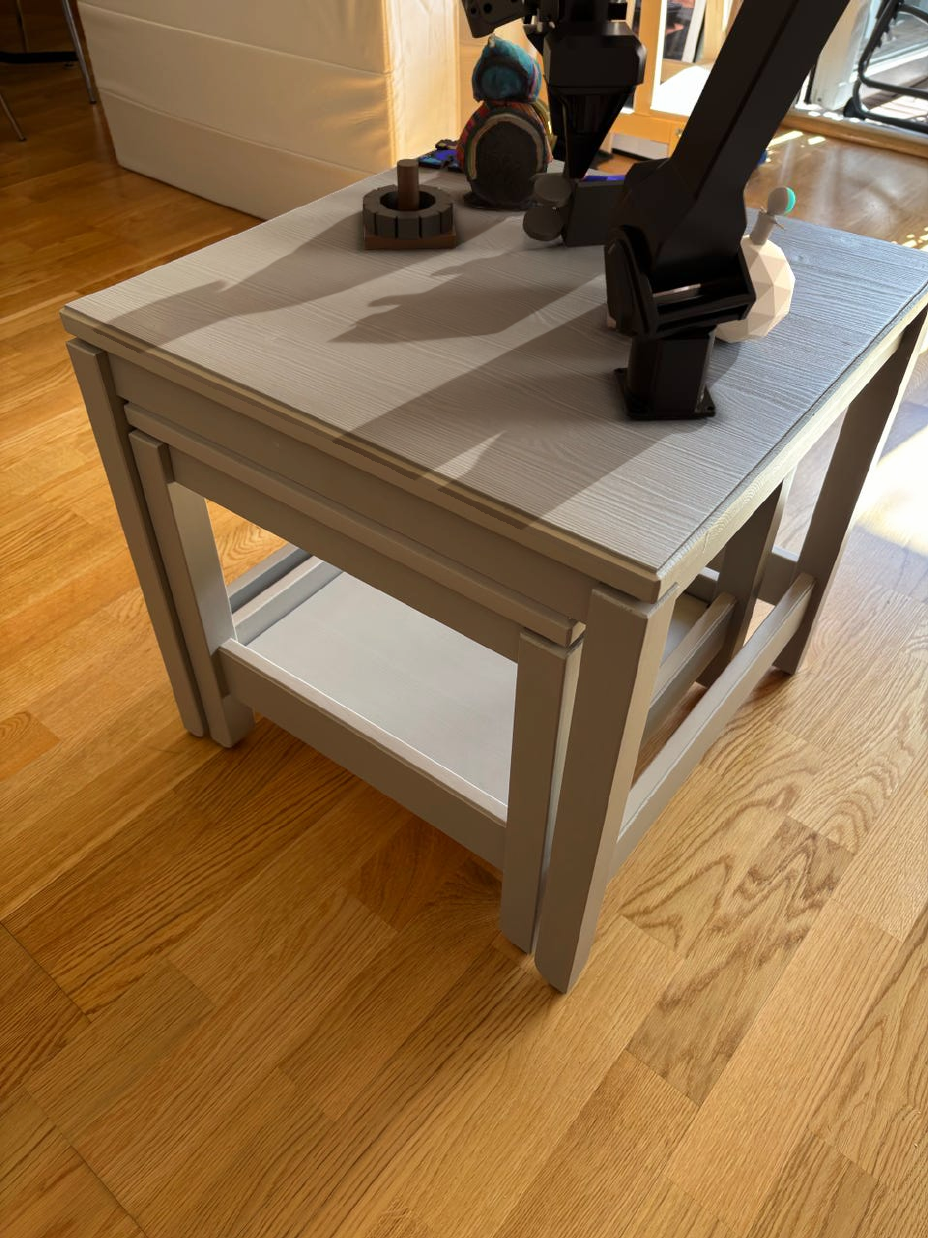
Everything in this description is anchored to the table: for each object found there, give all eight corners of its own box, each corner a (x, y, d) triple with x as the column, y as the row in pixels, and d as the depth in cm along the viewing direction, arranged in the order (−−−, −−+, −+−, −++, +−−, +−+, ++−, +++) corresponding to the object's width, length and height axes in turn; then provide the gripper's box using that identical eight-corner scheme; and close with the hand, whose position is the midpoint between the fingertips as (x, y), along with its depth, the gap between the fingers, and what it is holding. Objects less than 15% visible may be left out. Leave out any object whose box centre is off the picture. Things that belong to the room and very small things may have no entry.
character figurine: (515, 234, 93) (663, 225, 95) (532, 260, 87) (689, 250, 89) (518, 146, 88) (675, 139, 90) (537, 168, 82) (703, 160, 84)
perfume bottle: (777, 370, 77) (863, 223, 69) (690, 352, 74) (770, 197, 66) (738, 322, 82) (813, 181, 74) (655, 303, 79) (725, 155, 71)
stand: (456, 247, 90) (456, 178, 85) (364, 249, 89) (360, 180, 85) (451, 211, 96) (451, 145, 91) (365, 213, 95) (361, 146, 91)
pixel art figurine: (466, 173, 103) (504, 138, 111) (466, 169, 103) (504, 135, 111) (415, 164, 105) (455, 130, 113) (415, 160, 105) (455, 127, 113)
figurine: (555, 190, 100) (568, 24, 90) (544, 216, 95) (556, 44, 85) (462, 181, 102) (464, 17, 91) (446, 206, 97) (446, 36, 86)
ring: (454, 239, 88) (454, 217, 87) (362, 240, 88) (361, 218, 86) (450, 203, 94) (450, 182, 93) (364, 204, 94) (363, 183, 92)
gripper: (455, -120, 69) (454, 116, 80) (474, -72, 55) (470, 204, 66) (610, -119, 69) (588, 115, 80) (665, -71, 56) (630, 202, 67)
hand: (567, 155), depth 73 cm, fingers open, 9 cm apart
